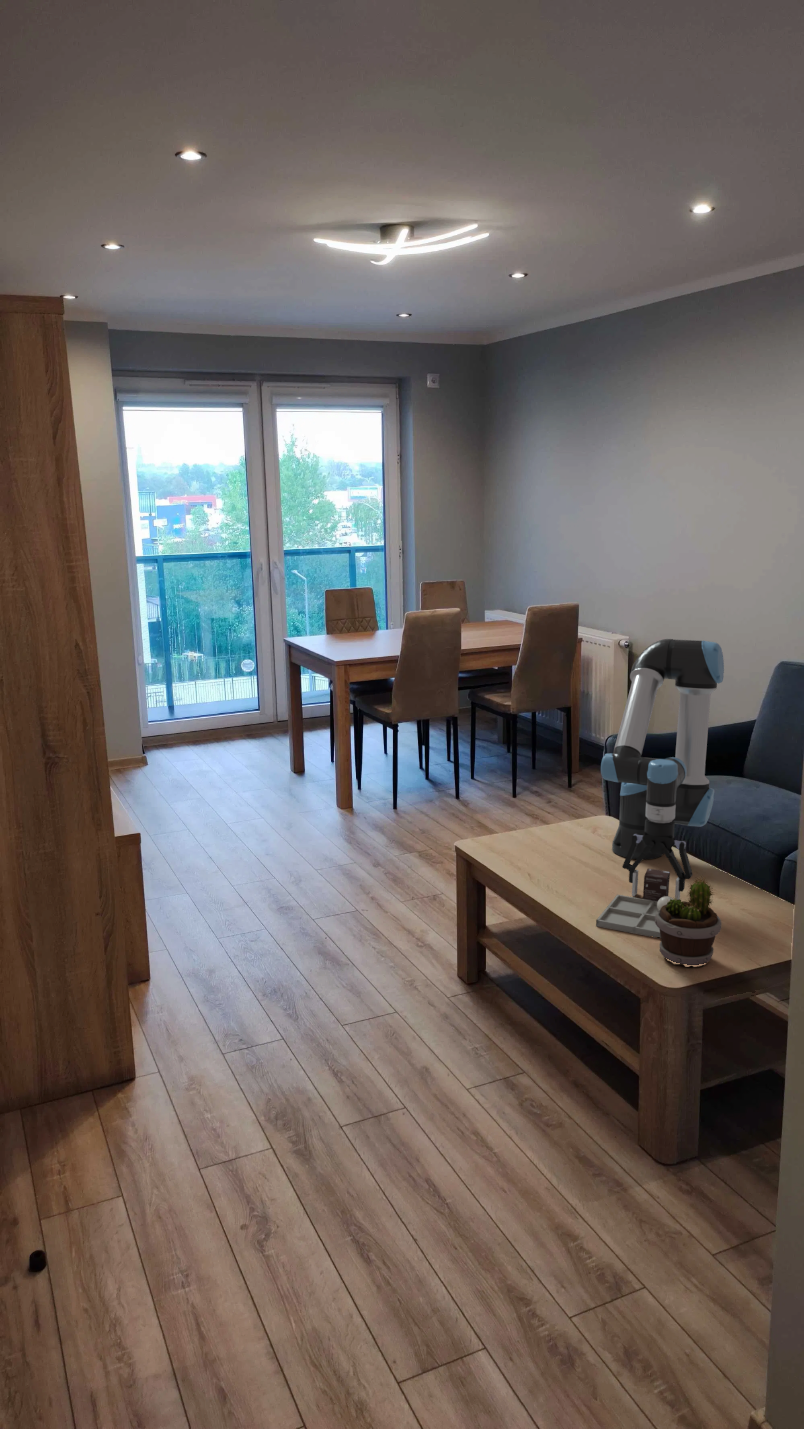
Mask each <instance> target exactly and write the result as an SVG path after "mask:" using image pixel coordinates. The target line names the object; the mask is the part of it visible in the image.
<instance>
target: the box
mask: <svg viewBox="0 0 804 1429" xmlns="http://www.w3.org/2000/svg"><path fill="white" fill-rule="evenodd" d="M645 871H646V872H645V873H644V876H643V891H642V892H643V894H642V899H646V900H652V901H657V902H658V900H659V899H660V898H661V897H664V896H669V892H670V891H669V890H670V878H671V877H670V876H671V871H668V870H667V871H666V870H663V869H662V870H661V869H654V868H647V869H646V870H645Z"/></svg>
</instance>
